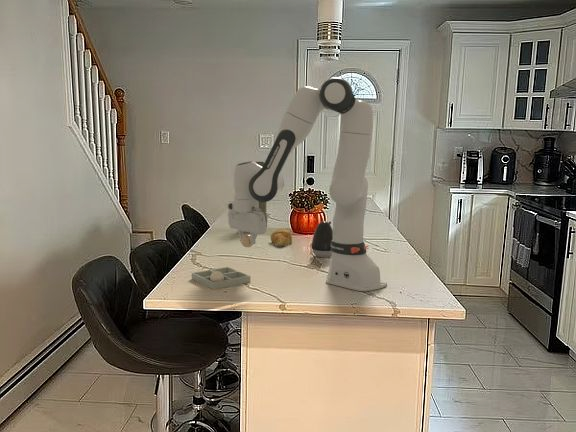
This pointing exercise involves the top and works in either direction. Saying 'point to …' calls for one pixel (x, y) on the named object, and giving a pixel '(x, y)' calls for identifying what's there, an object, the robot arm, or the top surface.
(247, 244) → the brown egg
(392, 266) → the top surface
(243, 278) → the carton
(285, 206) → the top surface
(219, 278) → the pale egg
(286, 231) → the croissant
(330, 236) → the pump dispenser
